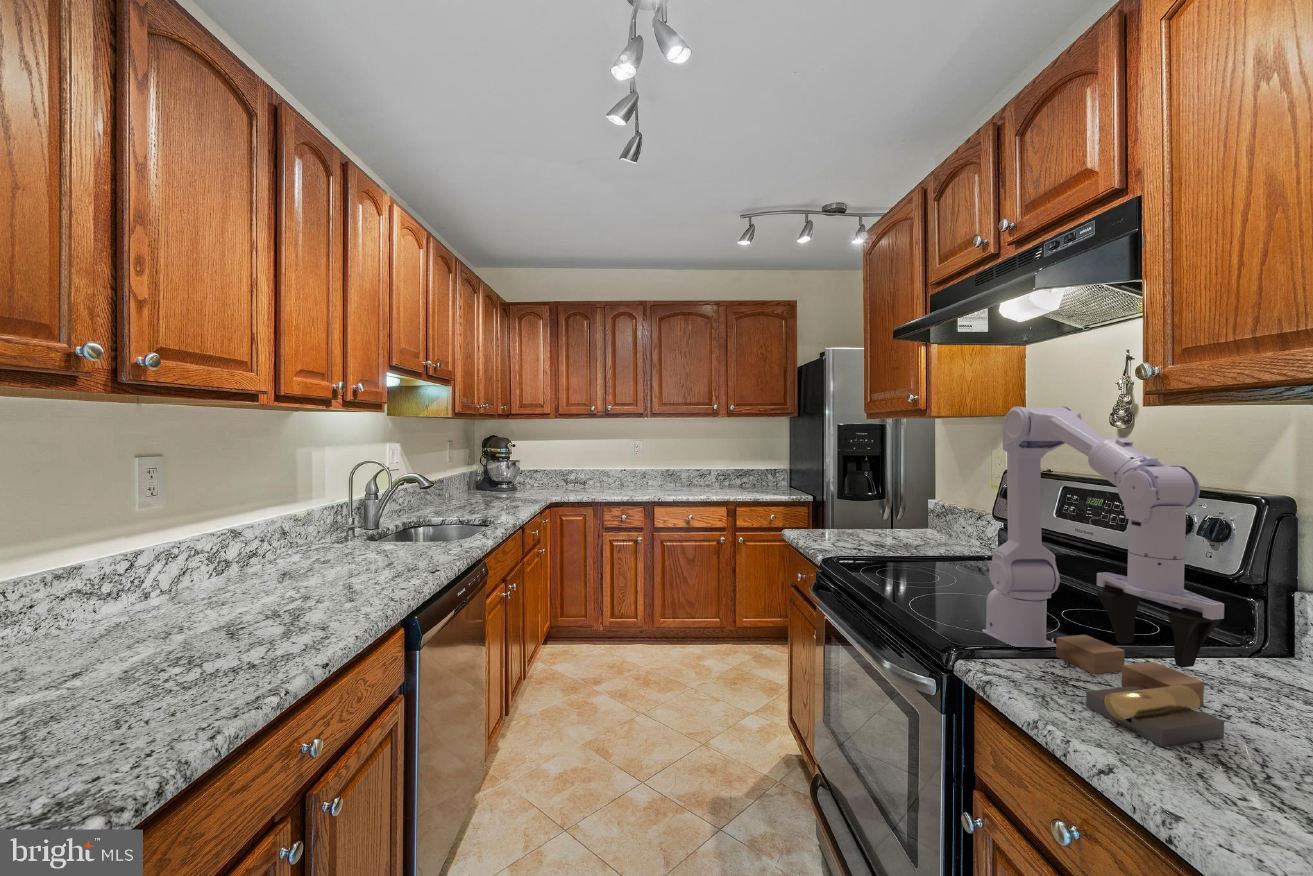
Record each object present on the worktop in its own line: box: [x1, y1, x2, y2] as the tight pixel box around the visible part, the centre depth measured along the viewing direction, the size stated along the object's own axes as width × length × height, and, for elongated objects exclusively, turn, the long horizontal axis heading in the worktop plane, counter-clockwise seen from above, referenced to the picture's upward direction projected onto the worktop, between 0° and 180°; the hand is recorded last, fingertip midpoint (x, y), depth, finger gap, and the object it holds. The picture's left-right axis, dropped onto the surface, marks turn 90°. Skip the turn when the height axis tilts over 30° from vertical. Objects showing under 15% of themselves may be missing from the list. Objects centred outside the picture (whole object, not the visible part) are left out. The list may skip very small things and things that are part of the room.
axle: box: [1104, 685, 1201, 720], centre depth 76 cm, size 12×3×3 cm, turn 101°
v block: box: [1085, 685, 1225, 748], centre depth 76 cm, size 10×10×2 cm
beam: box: [1055, 634, 1205, 706], centre depth 88 cm, size 18×6×3 cm, turn 11°
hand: (1153, 653), depth 75 cm, fingers open, 7 cm apart
